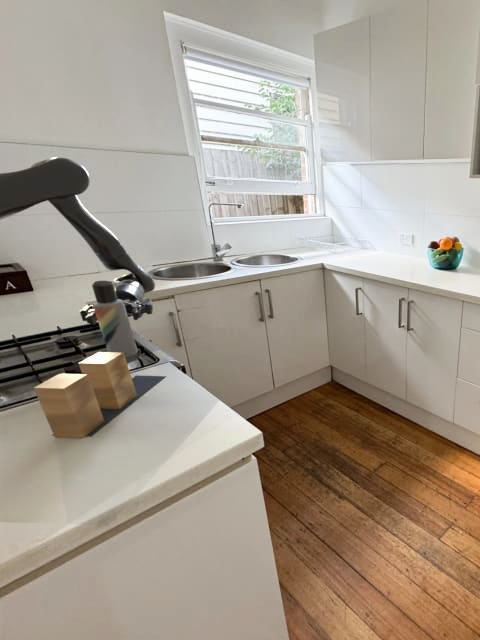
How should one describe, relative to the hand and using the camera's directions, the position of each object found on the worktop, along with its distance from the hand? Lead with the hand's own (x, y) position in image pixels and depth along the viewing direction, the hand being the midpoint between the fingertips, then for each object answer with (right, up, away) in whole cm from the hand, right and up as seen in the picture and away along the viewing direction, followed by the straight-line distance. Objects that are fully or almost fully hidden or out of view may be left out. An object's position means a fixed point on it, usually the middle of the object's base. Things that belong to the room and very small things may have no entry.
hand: (113, 318), depth 90 cm
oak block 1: (+11, -21, -22) cm, 32 cm away
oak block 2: (+11, -18, -13) cm, 25 cm away
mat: (+11, -18, -13) cm, 25 cm away
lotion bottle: (0, -10, +4) cm, 11 cm away
